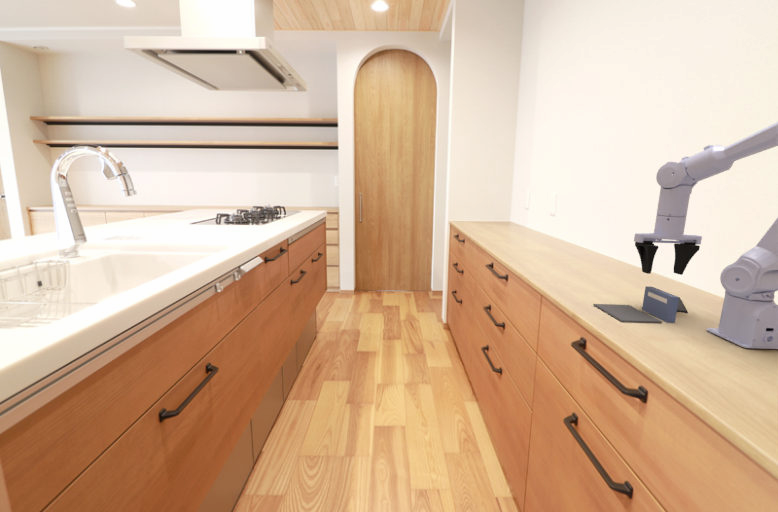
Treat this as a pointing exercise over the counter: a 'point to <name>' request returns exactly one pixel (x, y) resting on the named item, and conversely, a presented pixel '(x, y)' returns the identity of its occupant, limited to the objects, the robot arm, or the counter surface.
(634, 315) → the mat
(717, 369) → the counter surface
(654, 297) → the block
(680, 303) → the smartphone
